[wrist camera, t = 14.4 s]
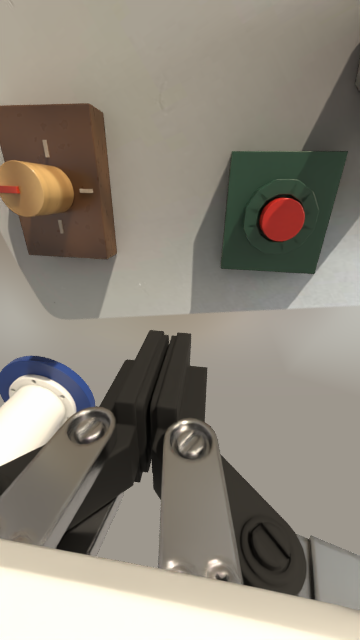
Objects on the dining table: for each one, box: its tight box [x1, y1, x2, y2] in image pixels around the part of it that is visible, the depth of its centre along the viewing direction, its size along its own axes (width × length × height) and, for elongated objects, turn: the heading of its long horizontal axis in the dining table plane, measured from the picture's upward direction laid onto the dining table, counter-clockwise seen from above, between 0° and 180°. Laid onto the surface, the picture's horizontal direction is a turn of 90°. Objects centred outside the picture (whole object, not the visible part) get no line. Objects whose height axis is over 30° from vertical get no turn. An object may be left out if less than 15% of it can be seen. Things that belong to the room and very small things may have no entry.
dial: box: [0, 160, 74, 217], centre depth 24 cm, size 4×4×5 cm
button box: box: [221, 151, 348, 274], centre depth 25 cm, size 11×10×4 cm
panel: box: [0, 103, 117, 259], centre depth 27 cm, size 14×10×3 cm
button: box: [260, 198, 305, 241], centre depth 23 cm, size 4×4×2 cm
